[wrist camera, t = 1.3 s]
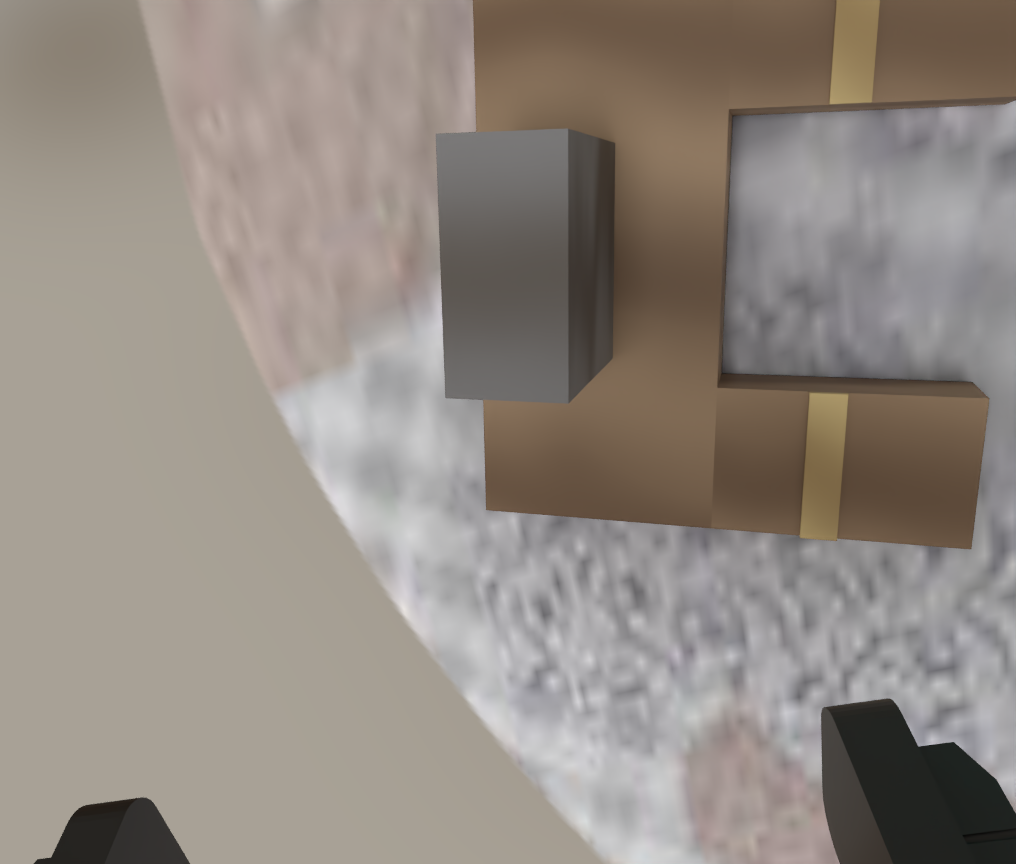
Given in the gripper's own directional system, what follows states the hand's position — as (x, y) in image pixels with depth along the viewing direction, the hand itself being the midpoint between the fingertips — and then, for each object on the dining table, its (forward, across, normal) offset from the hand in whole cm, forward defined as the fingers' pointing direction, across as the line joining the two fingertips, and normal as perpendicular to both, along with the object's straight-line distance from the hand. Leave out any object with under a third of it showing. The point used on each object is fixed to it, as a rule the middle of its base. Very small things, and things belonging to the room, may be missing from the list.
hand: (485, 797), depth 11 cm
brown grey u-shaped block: (+19, -7, +1) cm, 20 cm away
